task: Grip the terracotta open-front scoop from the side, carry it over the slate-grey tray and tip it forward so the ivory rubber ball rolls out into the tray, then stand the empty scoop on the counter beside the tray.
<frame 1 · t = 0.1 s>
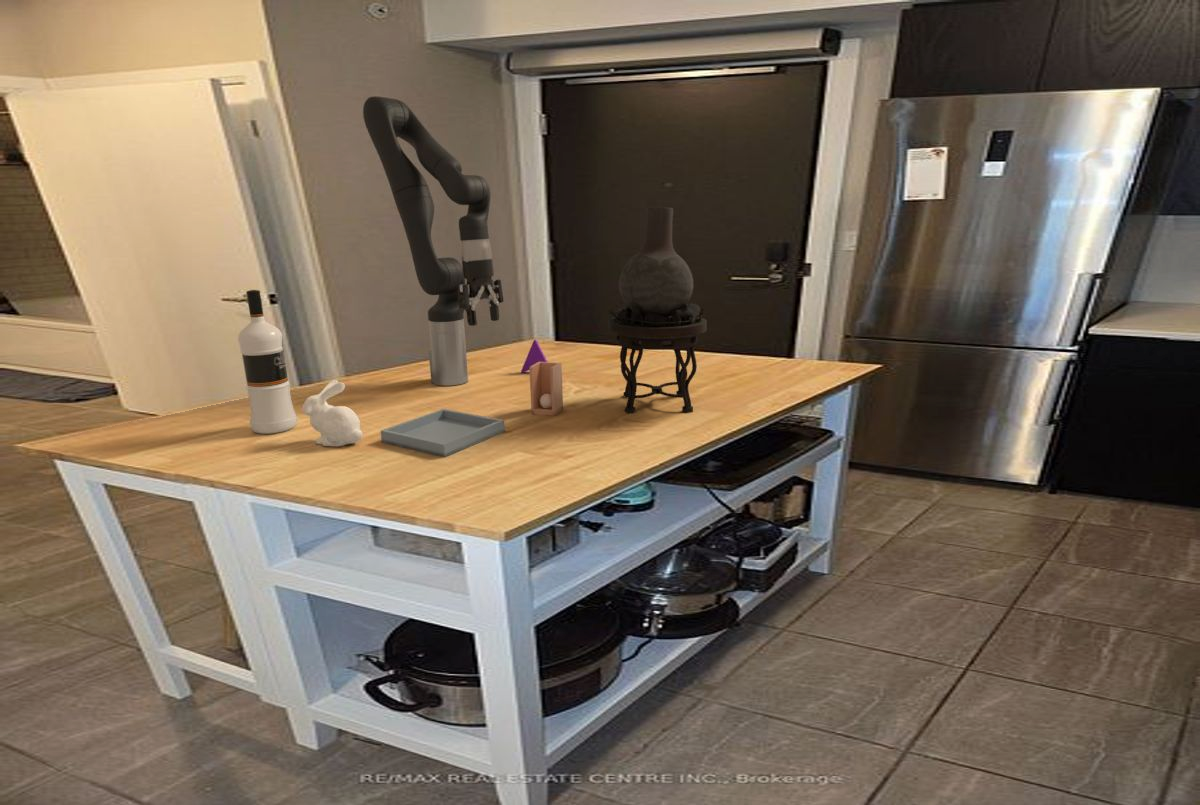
hand: (484, 322, 172), 17 cm above the worktop, tool pointing down, fingers open, 8 cm apart
brazier: (656, 404, 160), on the worktop
vodka: (275, 429, 147), on the worktop
arrowhead: (536, 373, 193), on the worktop
rabbit: (335, 442, 138), on the worktop
tray: (444, 436, 139), on the worktop
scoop: (547, 411, 155), on the worktop, touching ball
ball: (547, 401, 155), point 2 cm above the worktop, touching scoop
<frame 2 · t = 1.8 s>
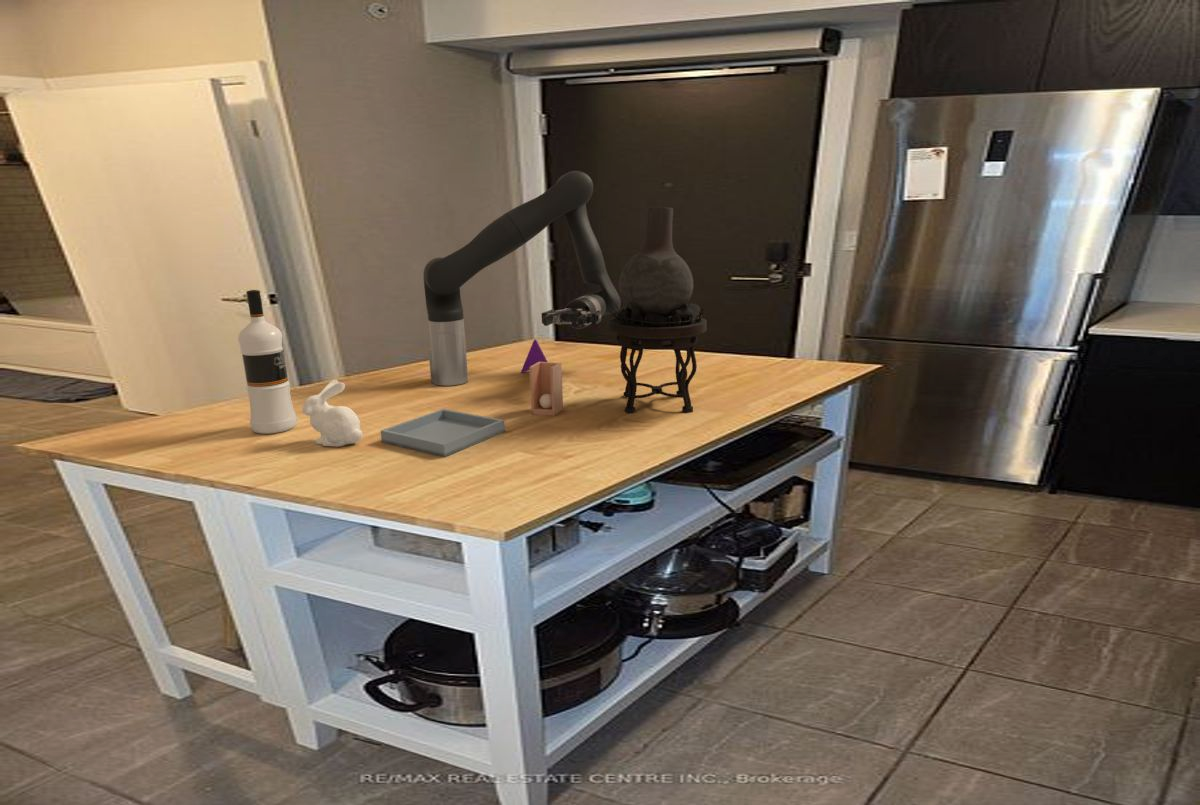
hand: (561, 321, 160), 19 cm above the worktop, tool horizontal, fingers open, 8 cm apart
ball: (546, 401, 154), point 2 cm above the worktop, tilted 6°, touching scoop
everything else where it was.
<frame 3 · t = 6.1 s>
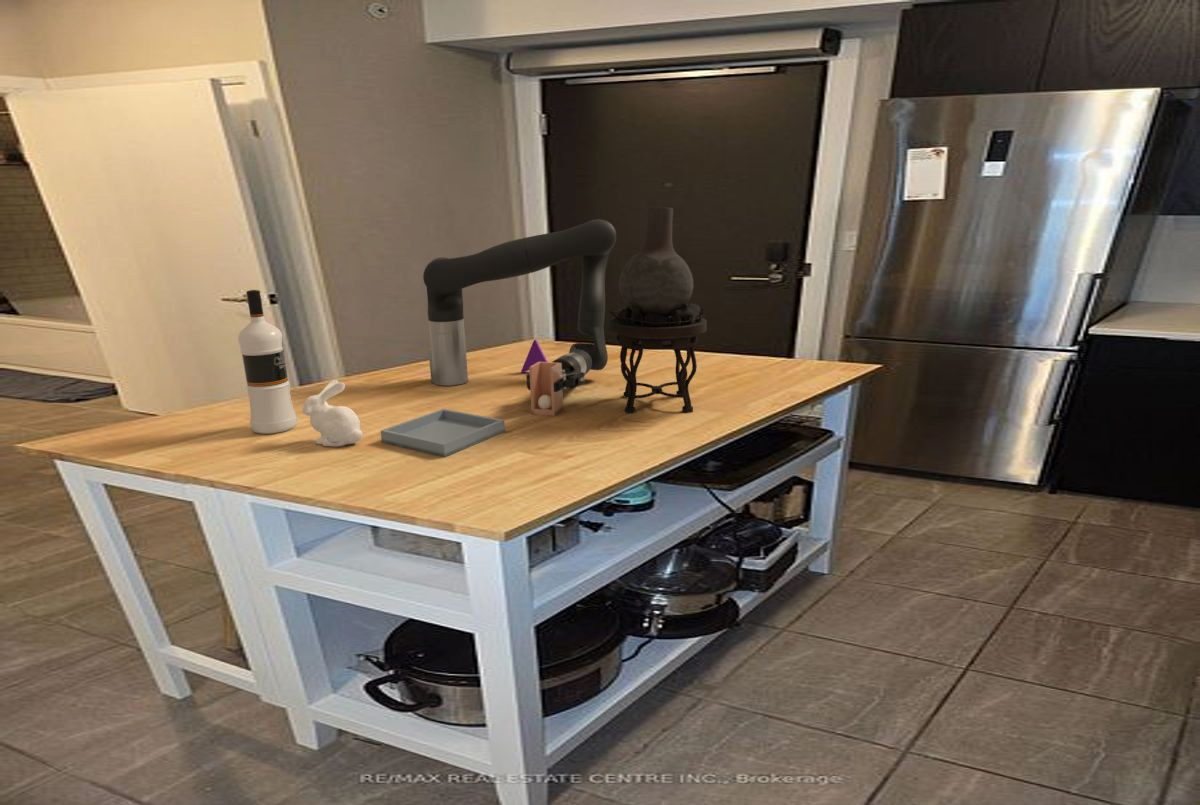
hand: (542, 386, 151), 7 cm above the worktop, tool horizontal, fingers closed on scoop, 5 cm apart
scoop: (547, 411, 155), on the worktop, touching ball, gripper
ball: (545, 402, 154), point 2 cm above the worktop, tilted 36°, touching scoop
everything else where it was.
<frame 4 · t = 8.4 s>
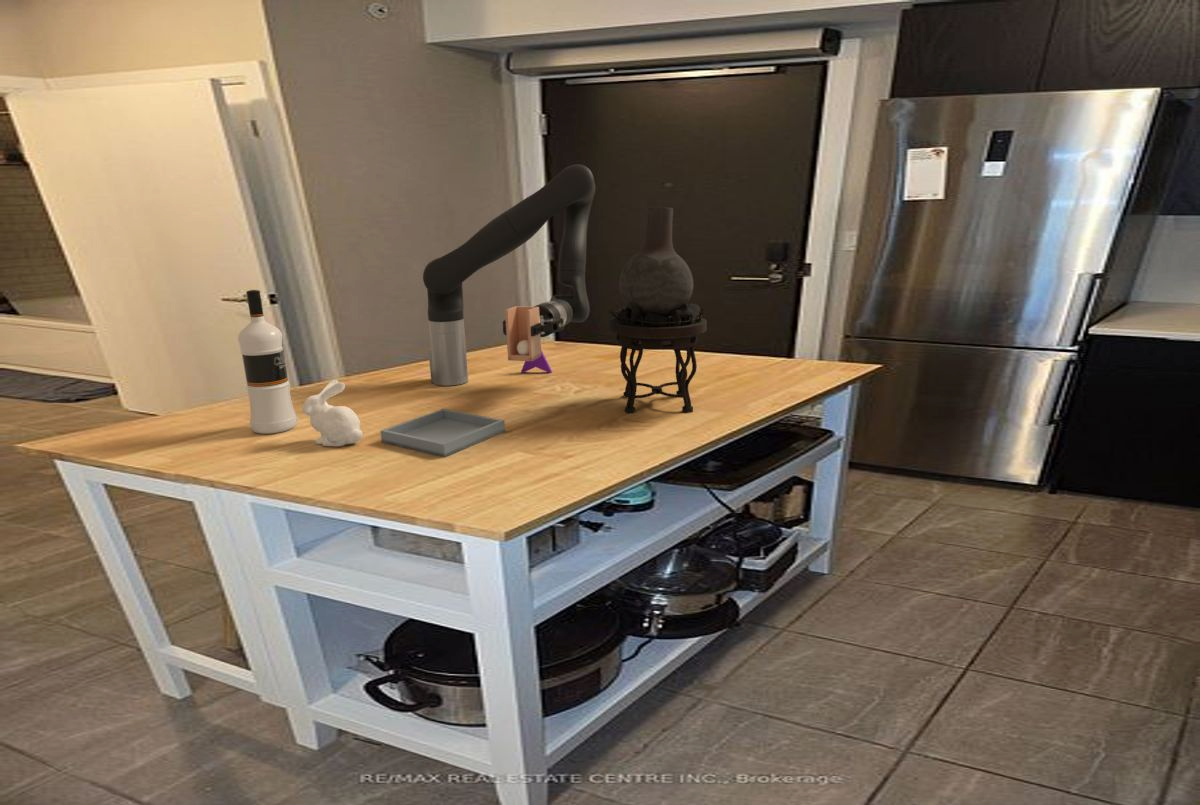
hand: (518, 331, 145), 20 cm above the worktop, tool horizontal, fingers closed on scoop, 5 cm apart
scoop: (524, 358, 149), point 13 cm above the worktop, touching ball, gripper
ball: (524, 348, 147), point 16 cm above the worktop, tilted 38°, touching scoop
everything else where it was.
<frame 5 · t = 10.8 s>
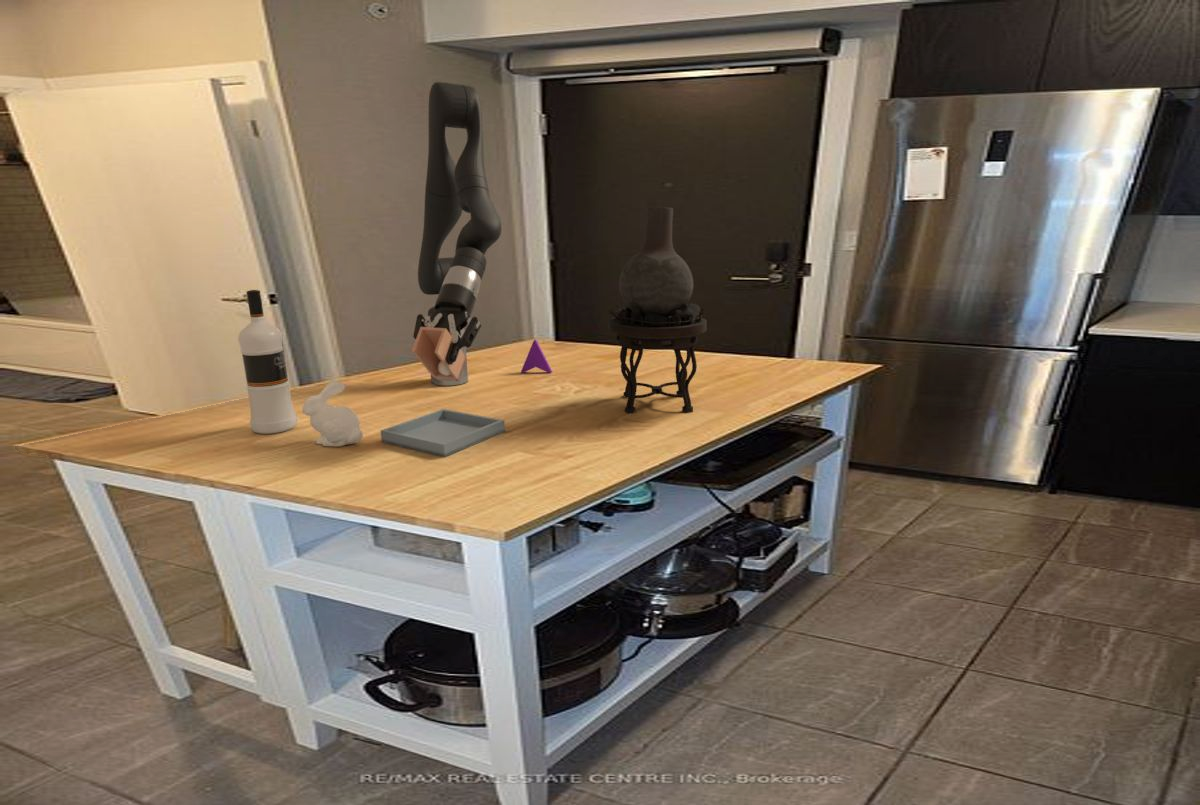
hand: (434, 361, 134), 16 cm above the worktop, tool tilted 45°, fingers closed on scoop, 5 cm apart
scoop: (450, 368, 140), point 13 cm above the worktop, tilted 46°, touching ball, gripper
ball: (446, 367, 137), point 14 cm above the worktop, tilted 86°, touching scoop
everything else where it was.
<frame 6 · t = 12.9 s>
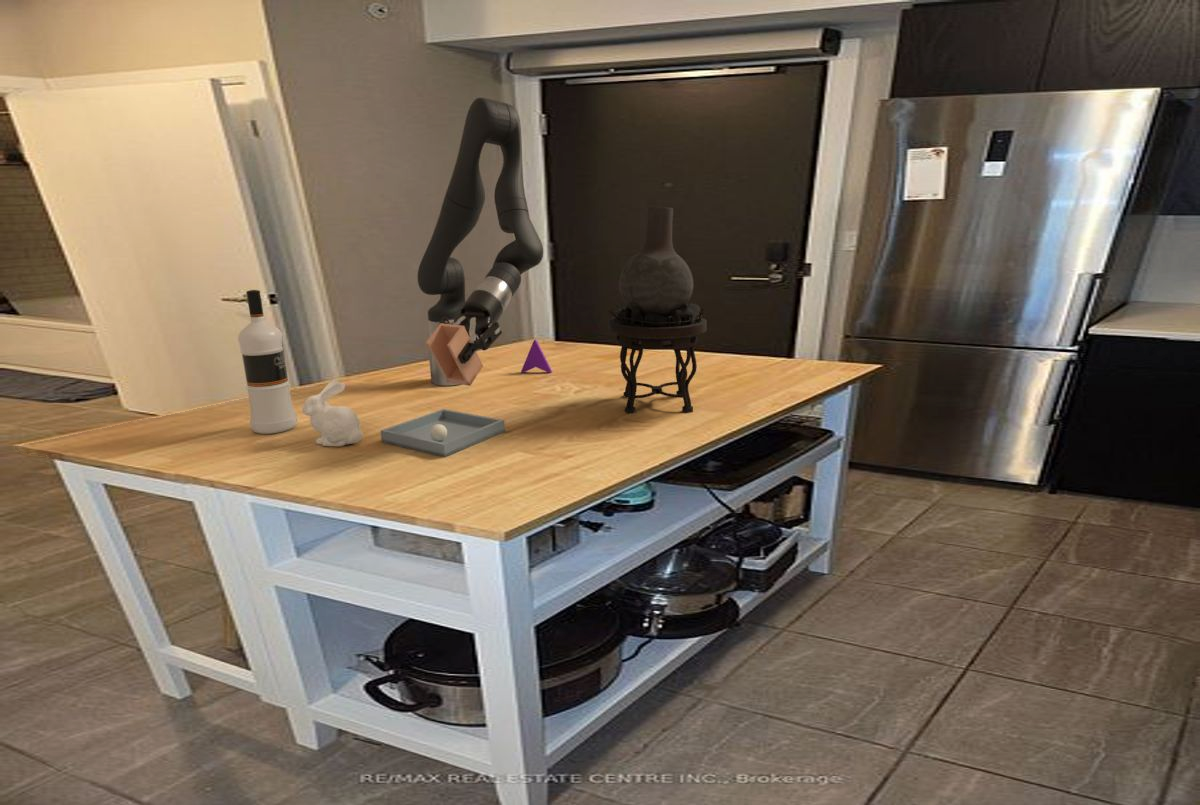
hand: (448, 358, 131), 17 cm above the worktop, tool tilted 60°, fingers closed on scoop, 5 cm apart
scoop: (465, 374, 137), point 13 cm above the worktop, tilted 33°, touching gripper
ball: (438, 432, 134), point 2 cm above the worktop, tilted 41°, touching tray
everything else where it was.
when the fingers open (7 cm above the worktop, at t = 16.2 s): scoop stays where it is, on the worktop.
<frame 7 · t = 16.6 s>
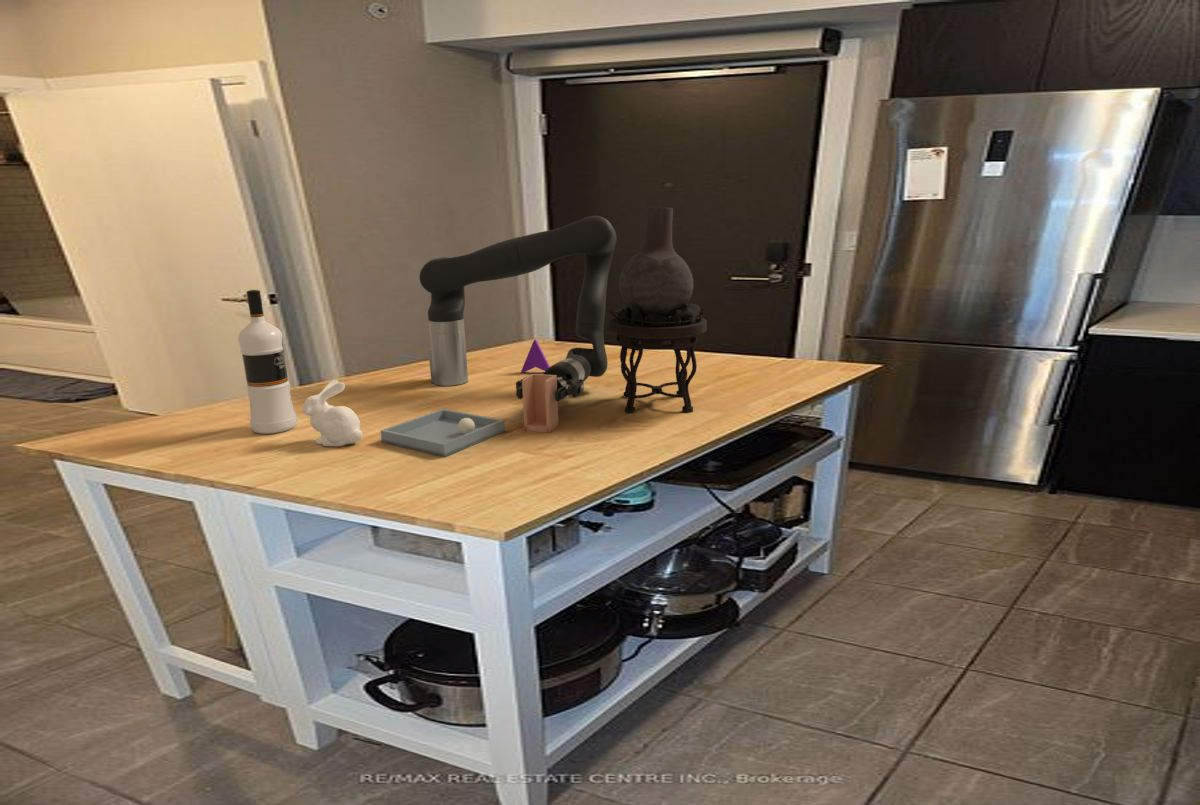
hand: (537, 395, 140), 7 cm above the worktop, tool horizontal, fingers open, 8 cm apart
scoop: (541, 427, 144), on the worktop
ball: (466, 426, 138), point 2 cm above the worktop, tilted 124°, touching tray
everything else where it was.
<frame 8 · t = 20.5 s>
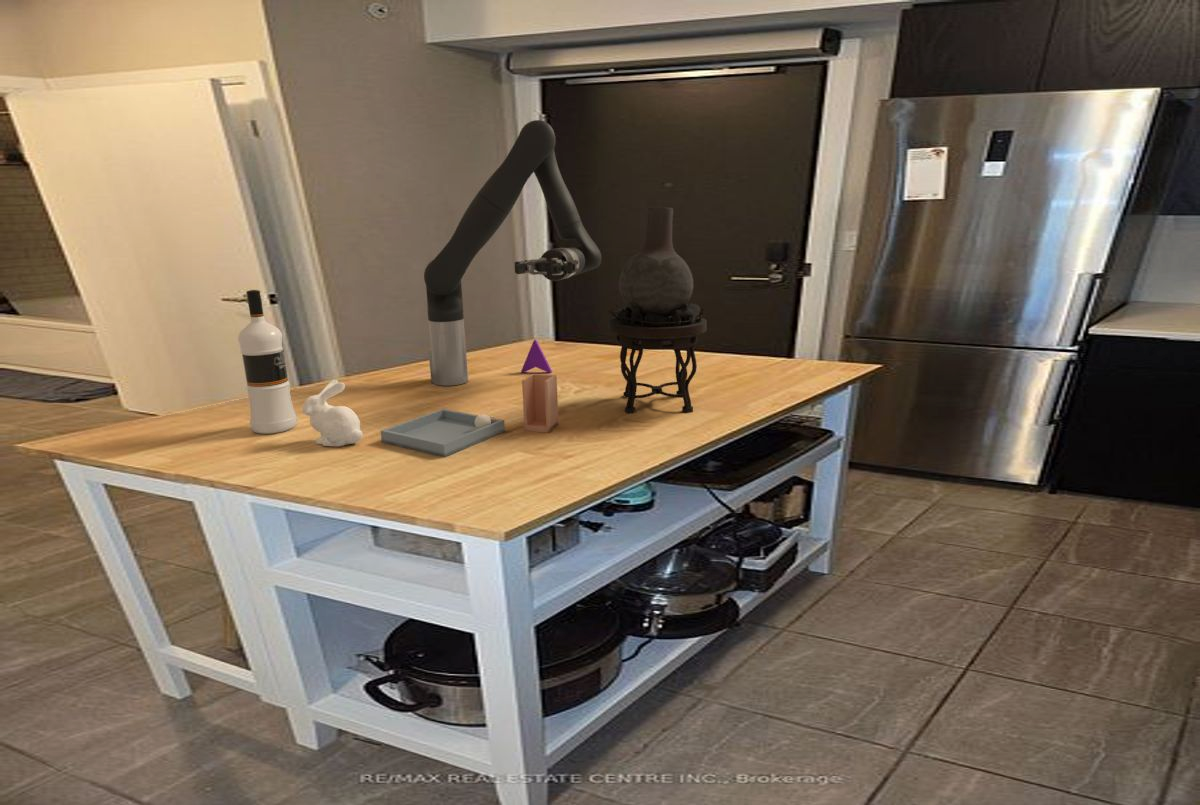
hand: (534, 269, 150), 32 cm above the worktop, tool horizontal, fingers open, 8 cm apart
ball: (482, 422, 140), point 2 cm above the worktop, tilted 45°, touching tray
everything else where it was.
at the end: ball inside the target area on the tray (8.0 cm from its centre), point 2.3 cm above the tray's base; the gripper is holding nothing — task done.
